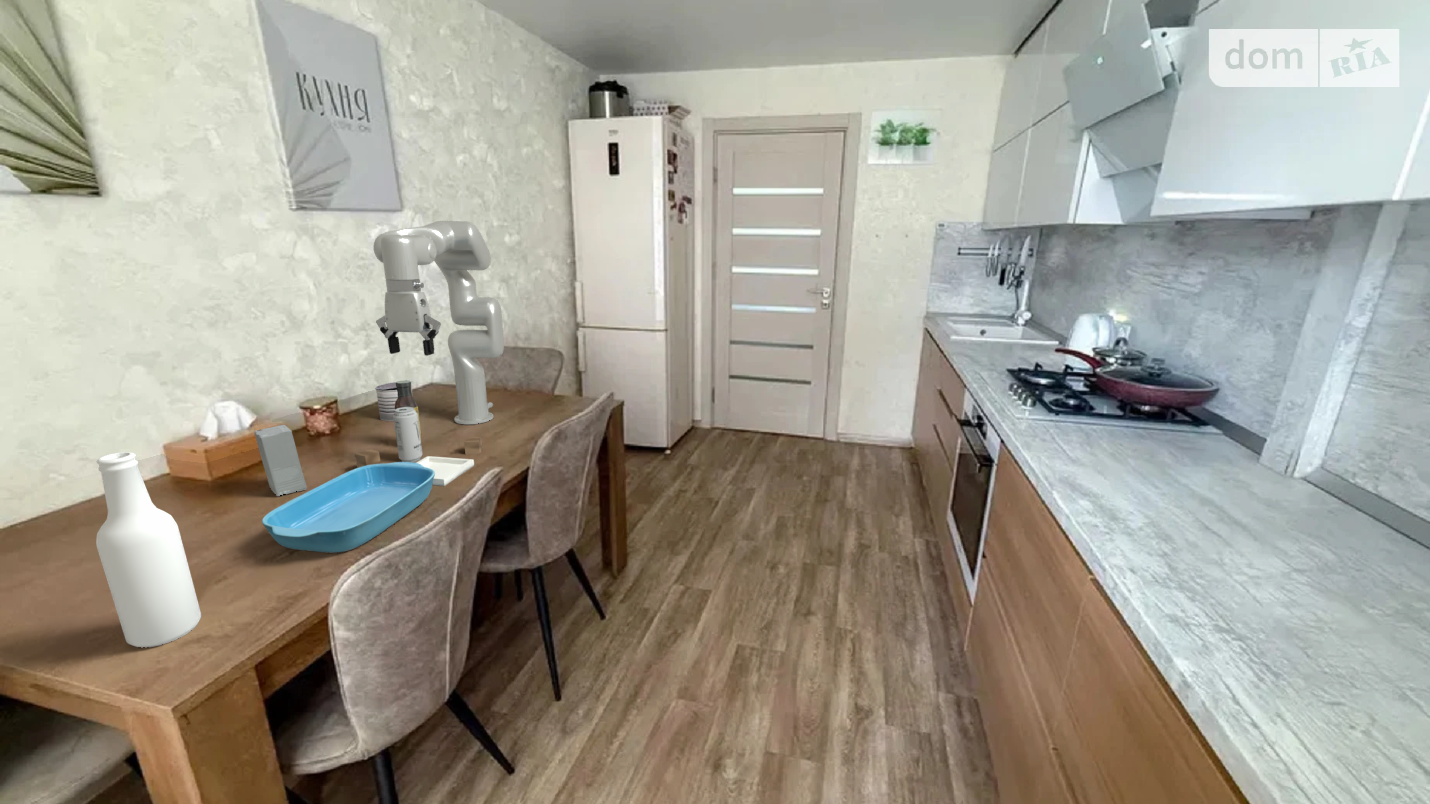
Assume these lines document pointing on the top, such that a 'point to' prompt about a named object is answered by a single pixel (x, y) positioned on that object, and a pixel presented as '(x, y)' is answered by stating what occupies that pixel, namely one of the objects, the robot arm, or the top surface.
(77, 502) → the top surface
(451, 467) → the tray
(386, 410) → the striped cup
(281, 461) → the skincare box
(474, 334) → the robot arm
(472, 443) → the walnut block
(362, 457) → the walnut block
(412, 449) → the energy drink can
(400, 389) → the sauce bottle
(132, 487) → the alcohol
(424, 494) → the casserole dish
